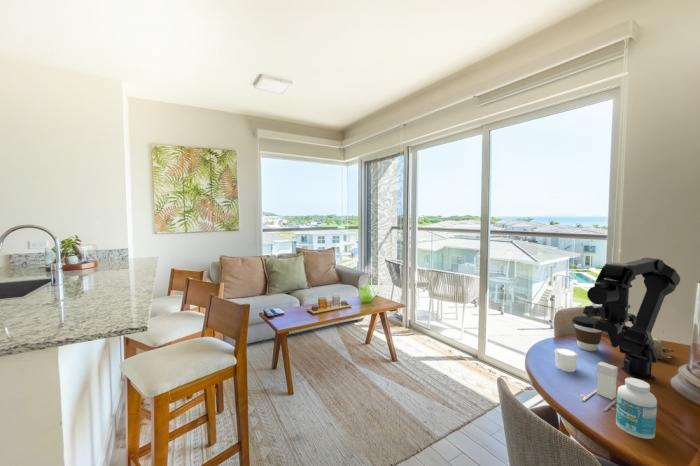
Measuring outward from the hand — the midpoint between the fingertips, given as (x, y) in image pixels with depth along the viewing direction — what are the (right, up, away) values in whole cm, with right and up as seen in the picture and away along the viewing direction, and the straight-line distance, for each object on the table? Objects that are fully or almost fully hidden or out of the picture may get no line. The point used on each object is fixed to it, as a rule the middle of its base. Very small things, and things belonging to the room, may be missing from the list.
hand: (614, 346), depth 101 cm
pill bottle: (-15, -14, -23) cm, 30 cm away
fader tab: (-10, -12, -9) cm, 18 cm away
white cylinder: (-11, -12, +8) cm, 18 cm away
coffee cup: (+11, -10, +26) cm, 30 cm away
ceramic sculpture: (+31, -11, +20) cm, 38 cm away
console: (-12, -13, -10) cm, 20 cm away
